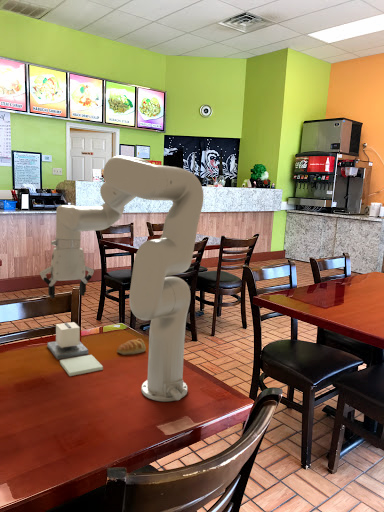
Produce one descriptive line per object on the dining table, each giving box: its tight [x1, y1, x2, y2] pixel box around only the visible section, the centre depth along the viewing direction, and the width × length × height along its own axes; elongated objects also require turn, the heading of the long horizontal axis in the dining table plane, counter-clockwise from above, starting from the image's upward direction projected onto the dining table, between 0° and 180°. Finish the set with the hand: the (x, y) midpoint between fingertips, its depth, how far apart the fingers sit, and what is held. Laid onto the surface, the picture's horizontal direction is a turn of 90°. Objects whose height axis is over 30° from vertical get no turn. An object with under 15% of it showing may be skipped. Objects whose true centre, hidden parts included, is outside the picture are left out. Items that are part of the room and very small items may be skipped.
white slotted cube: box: [55, 321, 81, 348], centre depth 135 cm, size 6×6×6 cm
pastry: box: [116, 338, 147, 356], centre depth 138 cm, size 9×7×4 cm
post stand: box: [47, 340, 89, 360], centre depth 135 cm, size 12×10×8 cm
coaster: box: [59, 354, 104, 377], centre depth 124 cm, size 10×10×1 cm
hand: (67, 296), depth 133 cm, fingers open, 9 cm apart
